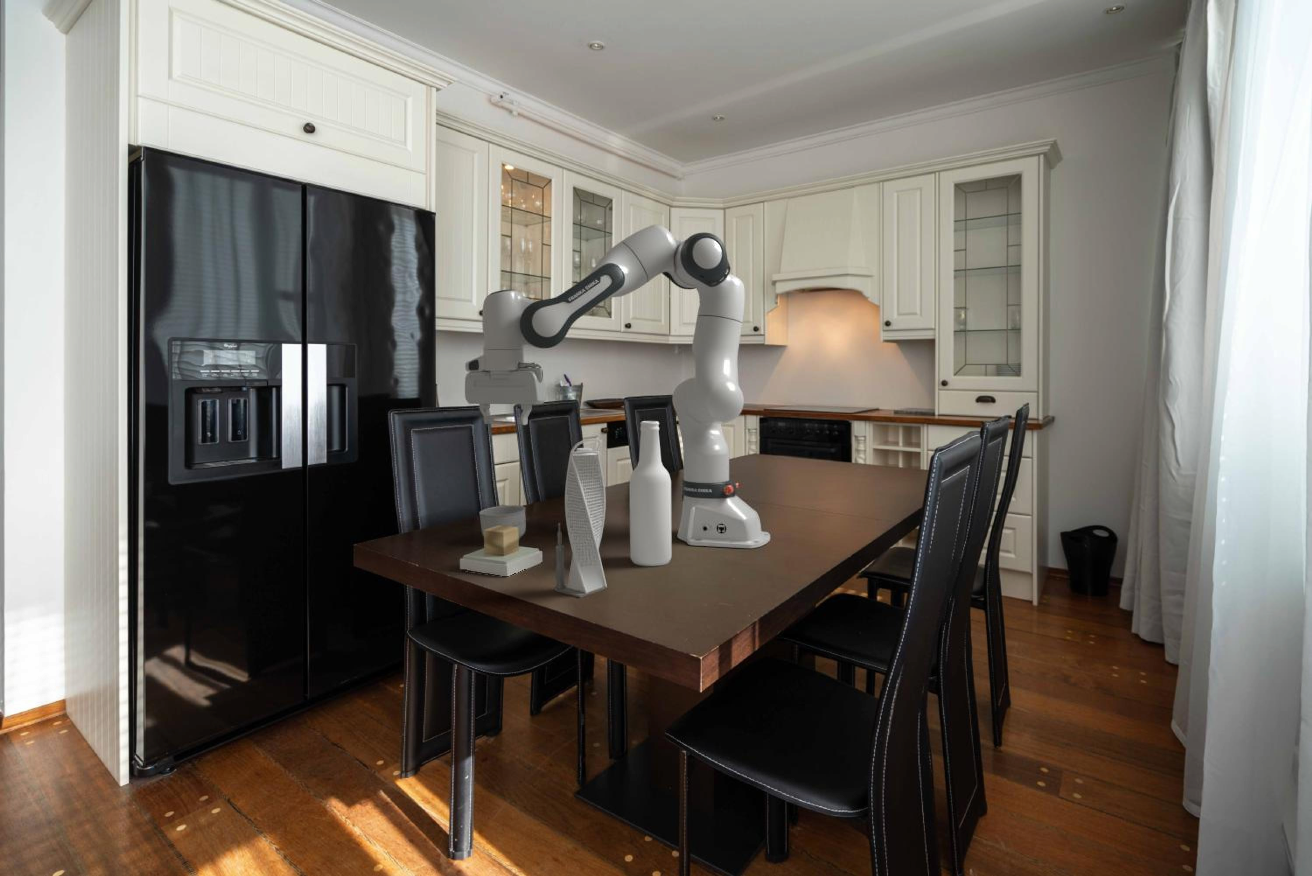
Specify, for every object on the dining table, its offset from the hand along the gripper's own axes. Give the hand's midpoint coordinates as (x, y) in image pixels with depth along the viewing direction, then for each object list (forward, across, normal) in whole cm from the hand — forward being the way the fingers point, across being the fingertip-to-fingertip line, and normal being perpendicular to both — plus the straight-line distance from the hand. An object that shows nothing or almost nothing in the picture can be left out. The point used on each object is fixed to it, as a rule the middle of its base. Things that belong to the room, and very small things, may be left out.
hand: (505, 424), depth 156 cm
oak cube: (+26, -8, +13) cm, 30 cm away
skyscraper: (+29, -32, +19) cm, 47 cm away
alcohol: (+29, -35, -3) cm, 45 cm away
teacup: (+29, +6, -6) cm, 30 cm away
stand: (+29, -8, +13) cm, 32 cm away
